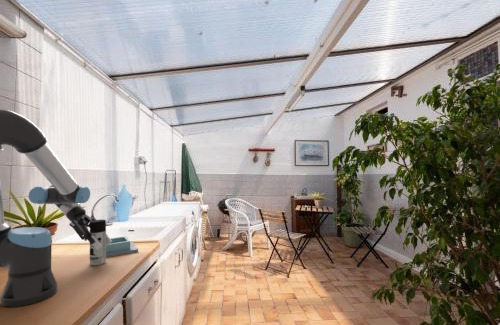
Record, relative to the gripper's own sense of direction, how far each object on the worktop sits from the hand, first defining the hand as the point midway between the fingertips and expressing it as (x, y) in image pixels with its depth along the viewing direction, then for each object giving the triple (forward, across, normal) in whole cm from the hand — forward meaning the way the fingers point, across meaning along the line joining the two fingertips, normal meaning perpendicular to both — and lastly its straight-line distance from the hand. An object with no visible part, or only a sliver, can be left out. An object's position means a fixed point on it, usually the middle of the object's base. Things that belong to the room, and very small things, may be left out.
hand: (105, 245), depth 124 cm
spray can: (+4, 0, -9) cm, 9 cm away
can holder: (+1, -19, -11) cm, 22 cm away
